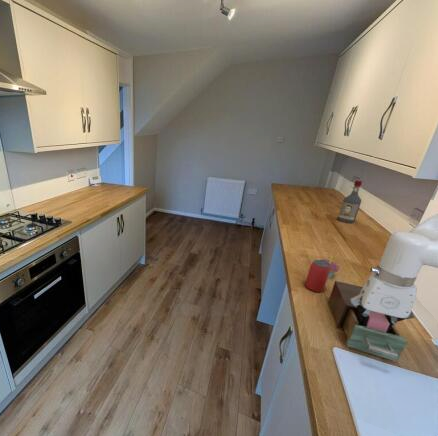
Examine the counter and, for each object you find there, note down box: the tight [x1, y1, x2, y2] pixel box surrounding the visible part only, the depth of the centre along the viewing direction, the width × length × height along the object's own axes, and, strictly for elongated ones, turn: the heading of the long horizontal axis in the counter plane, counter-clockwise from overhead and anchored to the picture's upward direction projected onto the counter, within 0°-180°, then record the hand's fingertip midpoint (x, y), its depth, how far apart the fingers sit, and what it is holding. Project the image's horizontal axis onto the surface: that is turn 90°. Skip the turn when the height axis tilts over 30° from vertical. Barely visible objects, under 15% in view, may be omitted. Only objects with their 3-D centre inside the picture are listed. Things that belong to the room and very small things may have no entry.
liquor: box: [337, 180, 363, 224], centre depth 171 cm, size 9×9×30 cm
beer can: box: [304, 259, 330, 293], centre depth 98 cm, size 7×7×12 cm
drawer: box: [342, 308, 408, 362], centre depth 72 cm, size 18×11×8 cm, turn 154°
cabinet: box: [327, 280, 387, 330], centre depth 82 cm, size 15×13×10 cm
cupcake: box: [321, 253, 340, 279], centre depth 107 cm, size 9×8×12 cm
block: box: [365, 311, 390, 332], centre depth 71 cm, size 4×4×4 cm
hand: (372, 326), depth 72 cm, fingers closed on block, 4 cm apart
